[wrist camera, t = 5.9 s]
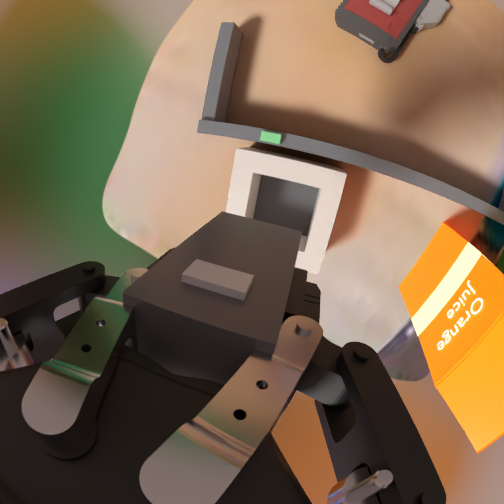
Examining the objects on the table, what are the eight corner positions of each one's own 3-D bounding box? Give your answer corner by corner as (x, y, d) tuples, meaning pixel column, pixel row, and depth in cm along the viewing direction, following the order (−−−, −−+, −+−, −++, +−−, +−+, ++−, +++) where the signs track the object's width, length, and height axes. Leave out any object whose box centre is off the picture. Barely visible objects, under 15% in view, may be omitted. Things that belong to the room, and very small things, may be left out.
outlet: (342, 168, 24) (346, 173, 20) (318, 254, 28) (318, 274, 24) (249, 147, 25) (236, 148, 21) (234, 232, 29) (220, 248, 25)
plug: (303, 226, 13) (279, 336, 6) (283, 300, 15) (246, 427, 8) (223, 206, 14) (121, 284, 6) (212, 280, 15) (135, 385, 8)
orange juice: (397, 287, 27) (448, 451, 9) (442, 220, 23) (564, 343, 5) (440, 314, 27) (496, 455, 9) (483, 256, 23) (581, 374, 5)
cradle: (521, 131, 16) (542, 133, 13) (501, 222, 21) (520, 234, 17) (231, 32, 21) (217, 18, 17) (211, 132, 26) (194, 132, 22)
